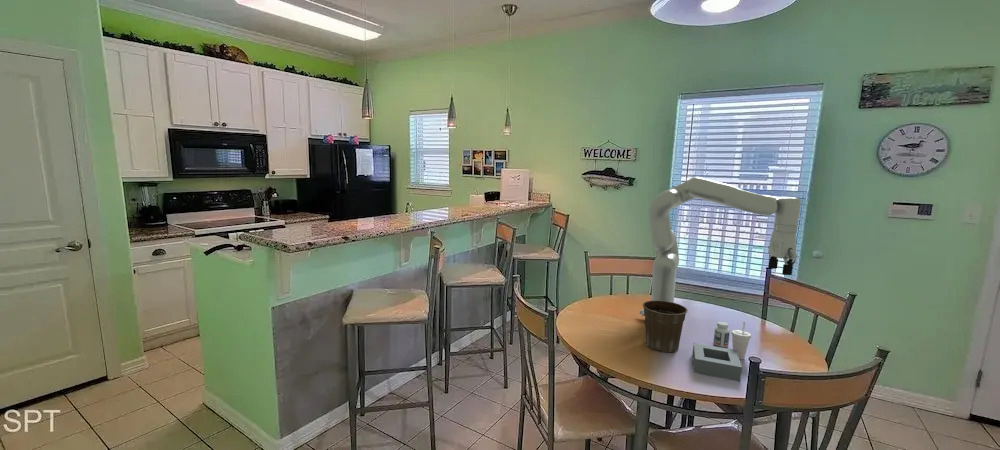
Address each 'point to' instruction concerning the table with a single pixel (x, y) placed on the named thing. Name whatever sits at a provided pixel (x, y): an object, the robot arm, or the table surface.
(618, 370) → the table surface
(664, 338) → the plant pot
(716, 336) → the pill bottle
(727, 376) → the socket
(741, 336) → the smoothie
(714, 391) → the table surface
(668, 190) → the robot arm
